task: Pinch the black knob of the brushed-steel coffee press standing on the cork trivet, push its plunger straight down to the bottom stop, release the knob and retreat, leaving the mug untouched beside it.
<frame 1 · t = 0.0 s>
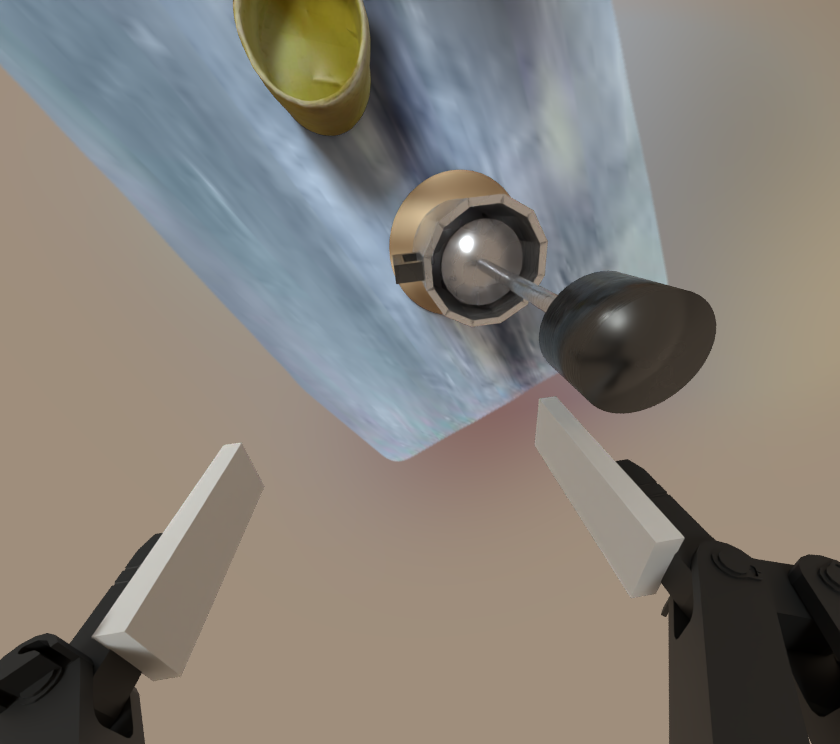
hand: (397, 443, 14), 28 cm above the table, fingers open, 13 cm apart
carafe: (456, 250, 36), resting on trivet
trivet: (455, 249, 36), on the table
mug: (327, 55, 28), on the table
plunger: (524, 288, 18), point 21 cm above the table, slide at 0.0 cm
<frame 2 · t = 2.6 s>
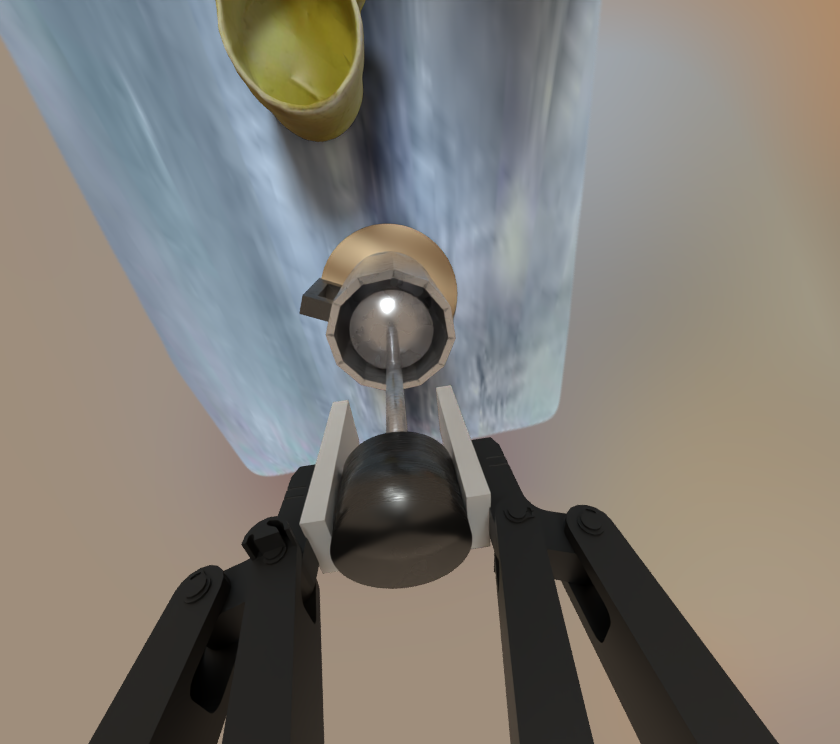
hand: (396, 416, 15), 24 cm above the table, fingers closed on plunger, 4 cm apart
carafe: (390, 299, 36), resting on trivet
trivet: (390, 297, 36), on the table
mug: (326, 62, 26), on the table
plunger: (394, 386, 18), point 21 cm above the table, slide at 0.0 cm, touching gripper
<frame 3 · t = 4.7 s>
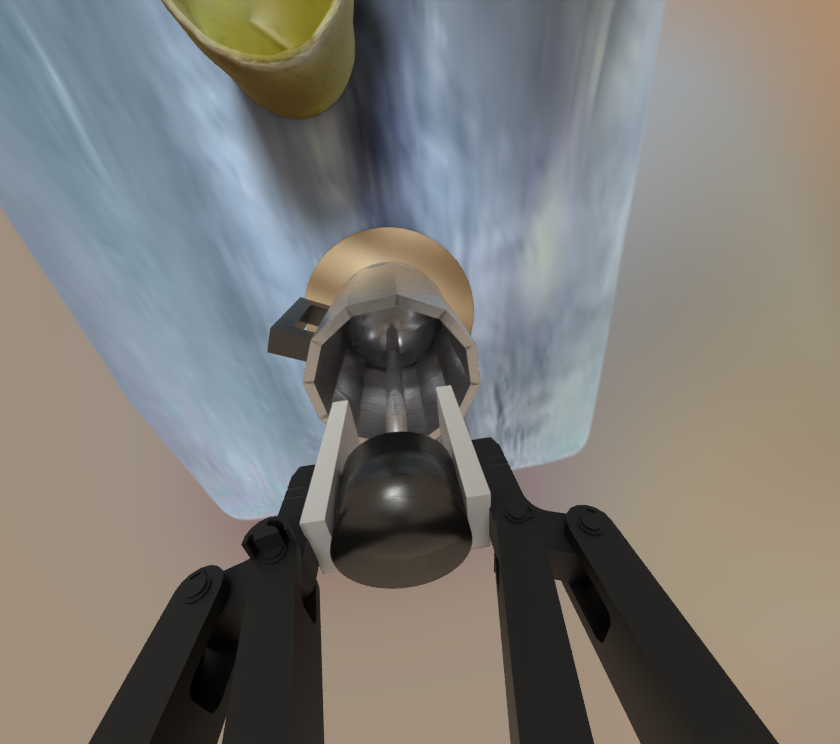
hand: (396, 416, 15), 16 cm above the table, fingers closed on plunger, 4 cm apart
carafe: (391, 319, 29), resting on trivet
trivet: (391, 317, 29), on the table
mug: (305, 10, 19), on the table
plunger: (394, 386, 18), point 13 cm above the table, slide at 7.7 cm, touching gripper
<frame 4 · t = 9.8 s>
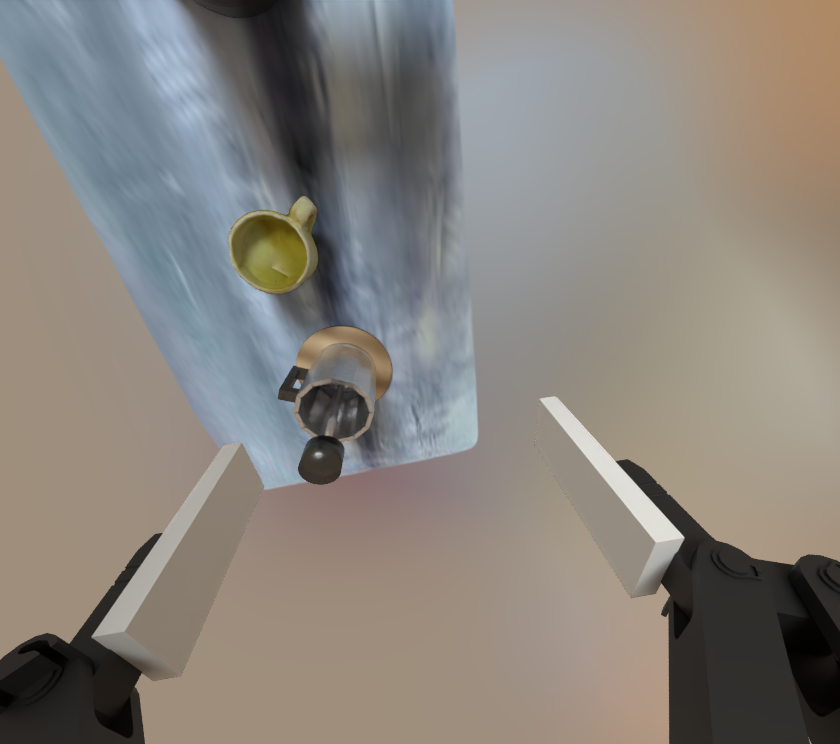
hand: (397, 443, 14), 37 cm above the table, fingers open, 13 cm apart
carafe: (344, 371, 52), resting on trivet
trivet: (345, 369, 52), on the table
mug: (295, 240, 42), on the table
plunger: (333, 414, 41), point 13 cm above the table, slide at 7.6 cm
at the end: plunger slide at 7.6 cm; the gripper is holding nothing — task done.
